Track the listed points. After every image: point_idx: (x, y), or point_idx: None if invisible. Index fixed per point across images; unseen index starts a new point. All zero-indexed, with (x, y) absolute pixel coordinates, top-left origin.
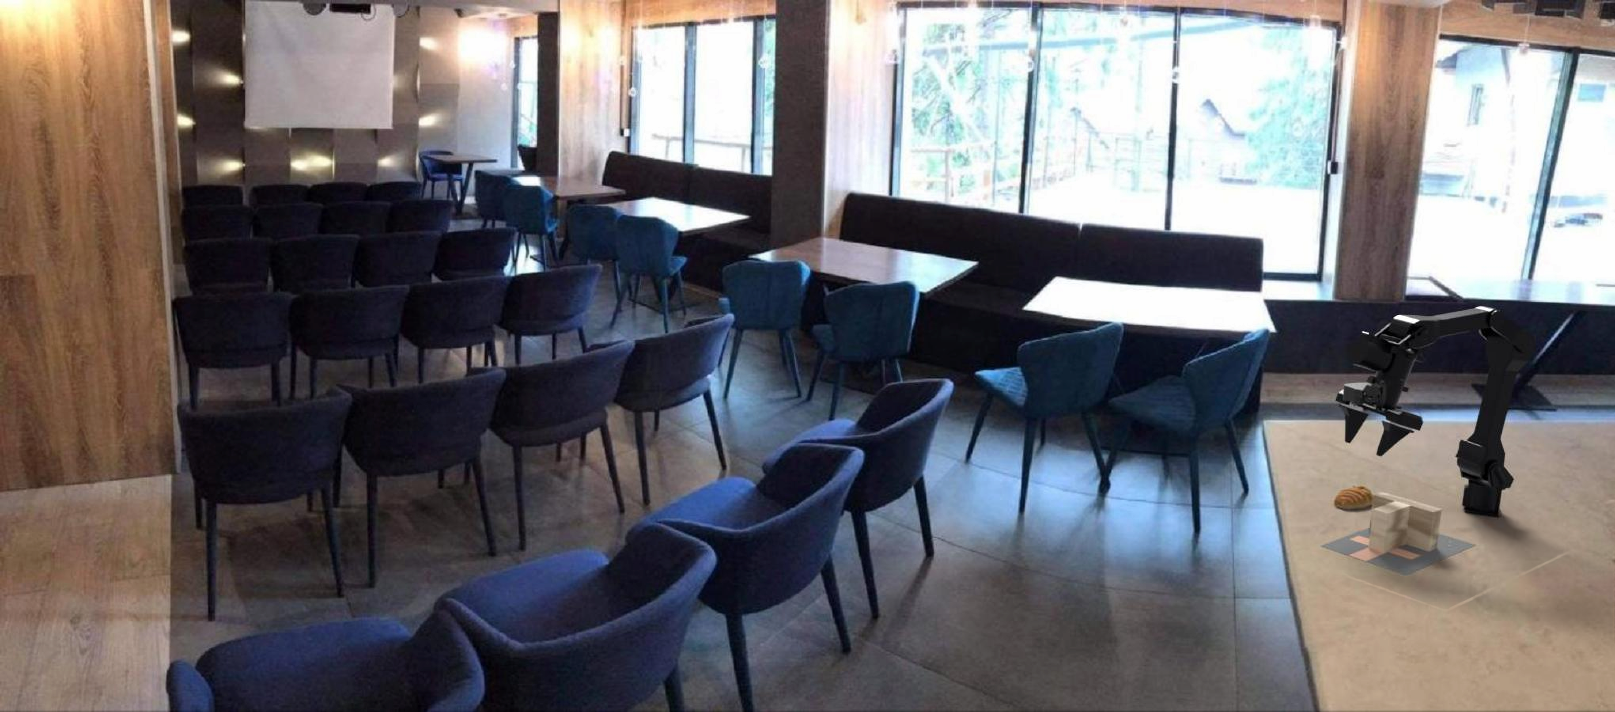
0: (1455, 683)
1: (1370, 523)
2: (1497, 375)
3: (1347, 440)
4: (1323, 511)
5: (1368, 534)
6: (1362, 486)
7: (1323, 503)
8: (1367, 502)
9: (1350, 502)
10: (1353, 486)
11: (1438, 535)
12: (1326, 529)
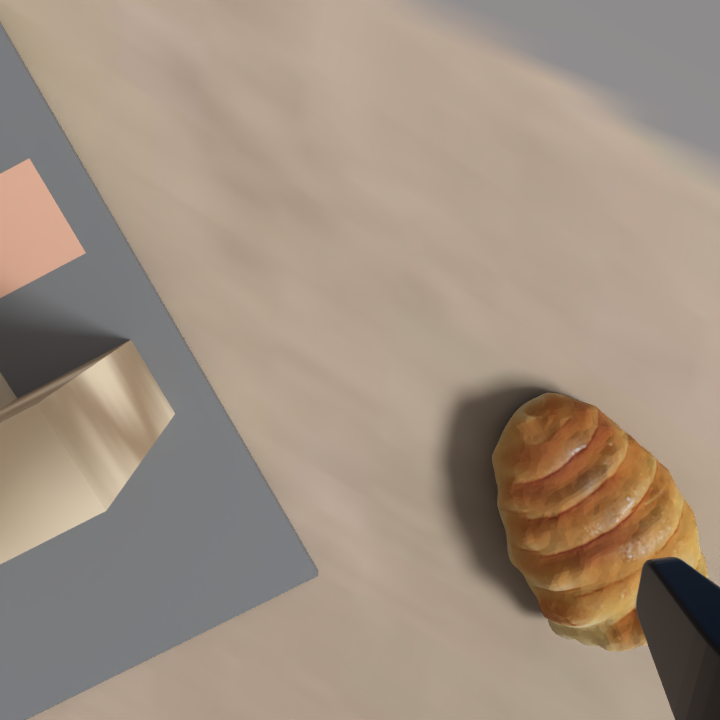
0: None
1: (111, 352)
2: None
3: (656, 591)
4: (519, 293)
5: (100, 319)
6: None
7: (637, 367)
8: (518, 568)
9: (512, 461)
10: None
11: (65, 671)
12: (237, 135)
